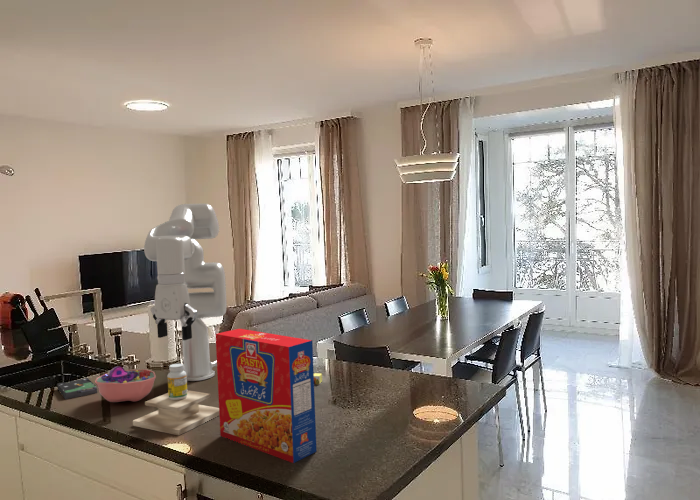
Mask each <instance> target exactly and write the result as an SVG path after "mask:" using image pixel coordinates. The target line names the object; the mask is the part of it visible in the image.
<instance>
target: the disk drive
mask: <svg viewBox="0 0 700 500" xmlns="http://www.w3.org/2000/svg"><path fill="white" fill-rule="evenodd" d="M56 387H57V388H58V389H57V391H58V390H59V391H60V392H61V393H60V392H59V391H58V392H59V393H60V395H61V396H62V395H63V396H62V397H63V398H64V400H70V399H73V398H80V397H85V396H91V395H94V394H98V386H97V385H96V383H94V382H93V381H92V380H91V379H90V378H88V377H85V378H80V379H75V380H70V381H68V382H65V381H63V382H59V383H56ZM69 398H70V399H69Z"/></svg>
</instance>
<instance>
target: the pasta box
mask: <svg viewBox="0 0 700 500" xmlns="http://www.w3.org/2000/svg"><path fill="white" fill-rule="evenodd" d="M215 349H216V350H215V351H216V361H217V366H216V374H217V375H216V376H217V390H218V391H217V392H218V395H217V396H218V408H219V416H218V417H219V431H220V432H219V433H220V434H219V435H220V437H221V436H222V438H224V437H225V438H224V439H226V438H228V439H227V440H229V439H230V441H232V440H233V442H235V441H236V442H235V443H237V442H238V444H240V443H241V444H240V445H243V444H244V445H243V446H245V445H246V447H248V446H249V448H251V449H254V450H257V451H259V452H262V453H265V454H268V455H271V456H273V457H276V458H279V459H281V460H283V461H287V462H289V463H292V464H295V463H296V462H299V461H301V460H303V459H304V458H306V457H309V456H311V455H312V454H314V453H316V452H317V449H318V448H317V431H316V428H317V426H316V406H315V405H316V403H315V402H316V401H315V399H316V398H315V384H314V350H313V349H314V348H313V339H312V340H311V339H306V338H300V337H293V336H289V335H288V336H286V335H282V334H275V333H270V332H269V333H268V332H263V331H256V330H251V329H245V328H235V329H231V330H227V331H223V332H219V333H215Z"/></svg>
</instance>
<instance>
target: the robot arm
mask: <svg viewBox="0 0 700 500" xmlns="http://www.w3.org/2000/svg"><path fill="white" fill-rule="evenodd" d="M219 232H220V225H219V220H218V216H217V213H216V211H215V209H214V207H213V206H212V205H210V204H209V203H184V204H178V205H176V206H175V207H174V208H173V209H172V210H171V213H170V217H169V218H168V221H165V222H163V223H161V224H159V225H155V226H154V227H153V228H151V229H150V230H149V232H148V234H147V236H146V238H145V240H144V245H143V250H144V251H143V252H144V255H145V257H146V259H148V260H149V261H150V262H151V261H152V262H156V266H157V277H156V279H157V284H156V286H155V291H154V292H155V293H154V306H153V307H151V308H150V311H151V314H152V318H153V320H154V321H155V323H154V324H156V326H157V338H159V339H160V338H164V337H167V336H168V335H169V334H168V324H167V322H166V321H167V320H170V321H178V320H179V321H180V324H181V337H182V357H183V358H182V359H183V365H184V369H183V371H185V372H186V376H187V382H195V381H196V382H197V381H204V380H207V379H211V378H213V377H214V376H216V375H215V374H216V373H215V370H213V368H214V367H217V360H214V361H211V357H210V340H209V328H208V326H207V324H206V323H205V322H204V321H203V320H202V319H203V318H218V317H223V316H225V314H226V312H227V306H228V305H227V304H228V302H227V287H226V286H227V284H226V272H225V268H224V266H223V265H222V263H220V262H215V261H214V262H213V261H212V262H205V260H204V259H205V258H204V249H203V246H201V244H200V243H199V242H198V240H209V239H214V238H216V237H217V236H218V235H219ZM189 289H190V290H191V289H192V290H194V289H212V290H213V291H199V292H198V291H192V292H189Z"/></svg>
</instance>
